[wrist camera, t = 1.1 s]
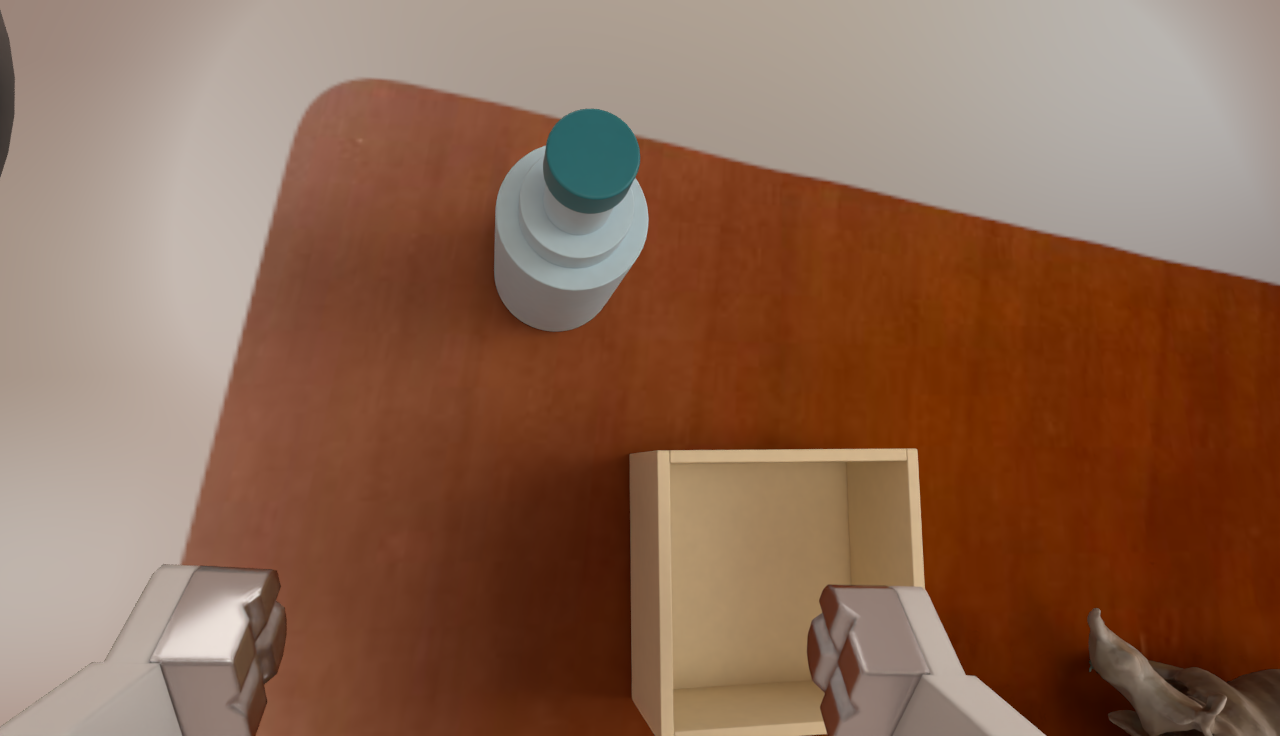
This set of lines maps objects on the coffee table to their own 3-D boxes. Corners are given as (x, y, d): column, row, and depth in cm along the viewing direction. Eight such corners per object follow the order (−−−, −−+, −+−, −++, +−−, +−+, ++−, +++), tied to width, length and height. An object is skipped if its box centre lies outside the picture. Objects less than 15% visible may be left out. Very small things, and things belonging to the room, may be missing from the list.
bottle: (493, 330, 38) (496, 242, 23) (494, 212, 39) (498, 55, 24) (613, 332, 39) (688, 249, 24) (612, 218, 40) (685, 69, 25)
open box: (631, 699, 37) (660, 746, 31) (629, 453, 38) (657, 450, 32) (860, 685, 39) (932, 726, 33) (850, 452, 40) (918, 448, 34)
